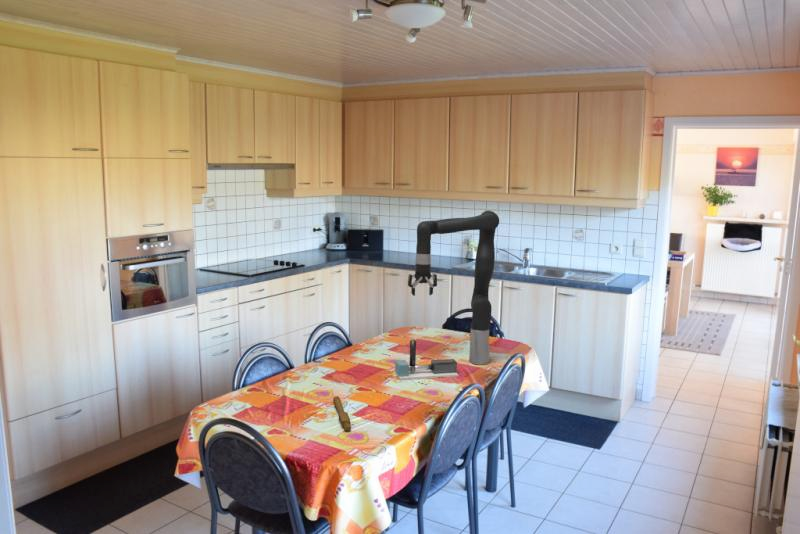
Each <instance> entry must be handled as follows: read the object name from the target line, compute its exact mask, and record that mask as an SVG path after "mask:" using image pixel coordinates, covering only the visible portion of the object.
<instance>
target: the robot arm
mask: <svg viewBox="0 0 800 534" xmlns="http://www.w3.org/2000/svg"><path fill="white" fill-rule="evenodd" d="M499 224H500V217H499V216H498V214H497V213H496V212H494V211H492V210H484V211H483V212H481V214H480V215H475V216H469V217H451V218H445V219H438V220H425V221H424V220H423V221H420V222H419V223H418V224H417V227H416V246H415V247H416V249H415V250H416V253H415V265H414V267H415V269H414V274H411V273H409V274H408V280H407V286H408V287H409V288H411V295H412V296H415V295H416V287H417V286H418V284H428V286H429V289H428V294H429V296H432V295H433V294H434V288H435V287H437V286H438V275H437V274H436V273H432V274H431V269H432V264H431V263H432V254H431V253H432V252H431V251H432V245H431V241H432V235H437V234H438V235H444V234H445V235H446V234H452V233H460V232H467V231H478V232H479V233H478V234H479V237H478V244H477V249H476V254H475V260H474V261H475V263H474V284H473V291H472V296H471V297H472V298H471V300H470V307H471V310H472V315H471V316H472V317H471V318H472V319H471V323H470V331H469V332H470V334H469V335H470V336H469V338H470V339H469V353H468V354H469V357H468V362H469V363H471V364H474V365H477V366H478V365H481V366H482V365H487V364H490V353H491V344H490V327H491V321H492V303H491V302H490V300H489V287H490V283H491V281H492V277H493V275H494V269H495V261H496V259H495V258H496V257H495V256H496V255H495V254H496V253H495V236H496V235H495V234H496V229H497V228H498V227H499ZM413 279H415V280H414V281H412V280H413ZM431 279H432V280H433V281H432V282H431Z"/></svg>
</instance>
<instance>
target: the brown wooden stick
mask: <svg viewBox="0 0 800 534" xmlns="http://www.w3.org/2000/svg"><path fill="white" fill-rule="evenodd" d="M332 401H333V404H334V406H335V408H336V410H337V413H338V421H339V423H340V426H341V429H343V430H344V431H345V432H349V431H351V429H352V426H351V419H350V416H349V414H348V412H346V411H345V410H344V407H343V402H342V400H341V397H339V396H338V395H335V396H334V397H333V399H332Z"/></svg>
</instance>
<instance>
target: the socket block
mask: <svg viewBox="0 0 800 534" xmlns="http://www.w3.org/2000/svg"><path fill="white" fill-rule="evenodd" d="M394 365H395V366H394V370H395V372H396V373H397V375H398V376H399V377H406V376H409V362H407V361H406V359H396V360H395V362H394ZM395 372H394V373H395ZM397 375H396V376H397Z"/></svg>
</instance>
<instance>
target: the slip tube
mask: <svg viewBox="0 0 800 534" xmlns="http://www.w3.org/2000/svg"><path fill="white" fill-rule="evenodd" d="M416 353H417V340H415V339H411V340H410V341H409V362H408V364H409V371H410V372H415V371H419V370H434V364H431V363H428V364H426V363H425V364H416V361H417V359H416V356H417V354H416Z"/></svg>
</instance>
